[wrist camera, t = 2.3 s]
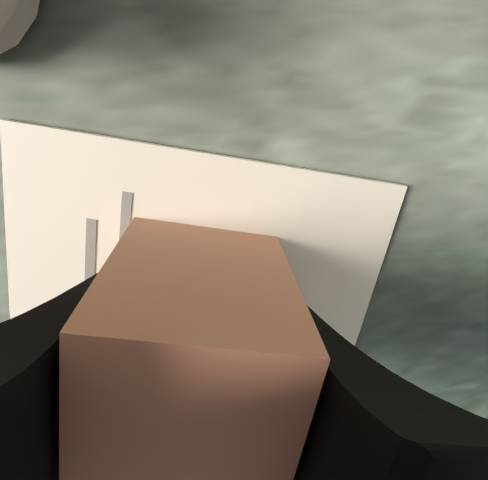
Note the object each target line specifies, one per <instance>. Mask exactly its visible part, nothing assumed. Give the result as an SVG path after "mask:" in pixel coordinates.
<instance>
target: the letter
mask: <svg viewBox="0 0 488 480" xmlns="http://www.w3.org/2000/svg"><path fill="white" fill-rule="evenodd" d="M0 133H1V153H2V172H3V191H4V211H5V230H6V250H7V269H8V288H9V308H10V319H12V318H14V317H16V316H18V315H21V314H23V313H25V312H27V311H29V310H31V309H33V308H35V307H37V306H39V305H41V304H43V303H45V302H47V301H49V300H51V299H53V298H55V297H57V296H58V295H60V294H62V293H64V292H65V291H67V290H69V289H71V288H72V287H74V286H76V285H78V284H79V283H81V282H83V281H84V280H86V279H88V278H90V277H91V276H93V275H95V274H97V273H98V272H99V271H100V269H101V268H102V266H103V265H104V263H105V261H106V260H107V258H108V257H109V255H110V254H111V252H112V251H113V249H114V248H115V246H116V244H117V243H118V241H119V240H120V238H121V237H122V235H123V234H124V232H125V231H126V229H127V227H128V226H129V224H130V223H131V221H132V220H133V218H134V217H138V218H146V219H153V220H160V221H167V222H174V223H182V224H189V225H196V226H203V227H210V228H218V229H225V230H232V231H239V232H246V233H254V234H261V235H268V236H275V237H277V238H278V240H279V242H280V245H281V247H282V249H283V251H284V254H285V256H286V258H287V261H288V263H289V265H290V268H291V270H292V272H293V274H294V277H295V279H296V281H297V284H298V286H299V288H300V291H301V293H302V295H303V297H304V300H305V302H306V304H307V306H308V307H310V308H311V309H312V310H313V311H314V312H315V313H316V314H317V315H318V316H319V317H321V318H322V319H323V320H324V321H325V322H326V323H327V324H328V325H330V326H331V327H332V328H333V329H334V330H335V331H336V332H338V333H339V334H340V335H341V336H342V337H344V338H345V339H346V340H347V341H349V342H350V343H351V344H353V345H354V346H355V344H356V341H357V338H358V335H359V332H360V329H361V326H362V323H363V320H364V317H365V314H366V311H367V308H368V305H369V302H370V299H371V296H372V293H373V290H374V287H375V284H376V281H377V278H378V275H379V272H380V269H381V266H382V263H383V260H384V257H385V254H386V251H387V248H388V245H389V242H390V239H391V235H392V232H393V229H394V226H395V223H396V220H397V217H398V214H399V211H400V208H401V205H402V202H403V199H404V196H405V193H406V190H407V187H408V186H406V185H404V184H398V183H392V182H386V181H380V180H374V179H368V178H362V177H355V176H349V175H343V174H337V173H331V172H325V171H319V170H313V169H307V168H301V167H295V166H289V165H283V164H276V163H270V162H264V161H258V160H252V159H246V158H240V157H234V156H228V155H222V154H216V153H210V152H204V151H198V150H191V149H185V148H179V147H173V146H167V145H161V144H155V143H149V142H143V141H137V140H131V139H125V138H119V137H113V136H106V135H100V134H94V133H88V132H82V131H76V130H70V129H64V128H58V127H52V126H46V125H40V124H34V123H28V122H21V121H15V120H9V119H0Z"/></svg>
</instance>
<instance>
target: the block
mask: <svg viewBox="0 0 488 480" xmlns="http://www.w3.org/2000/svg"><path fill="white" fill-rule="evenodd" d="M329 362H330V357H329V355H328V353H327V350H326V348H325V346H324V343H323V341H322V339H321V336H320V334H319V332H318V330H317V327H316V325H315V323H314V320H313V318H312V316H311V313H310V311H309V309H308V307H307V304H306V302H305V300H304V297H303V295H302V293H301V291H300V288H299V286H298V284H297V281H296V279H295V277H294V274H293V272H292V270H291V268H290V265H289V263H288V261H287V258H286V256H285V254H284V251H283V249H282V247H281V245H280V242H279V240H278V238H277V237H275V236H268V235H261V234H254V233H246V232H239V231H232V230H225V229H218V228H210V227H203V226H196V225H189V224H182V223H174V222H167V221H160V220H153V219H146V218H138V217H134V218H133V220H132V221H131V223H130V224H129V226H128V227H127V229H126V231H125V232H124V234H123V235H122V237H121V238H120V240H119V241H118V243H117V244H116V246H115V248H114V249H113V251H112V252H111V254H110V255H109V257H108V258H107V260H106V261H105V263H104V265H103V266H102V268H101V269H100V271H99V272H98V274H97V275H96V277H95V279H94V280H93V282H92V283H91V285H90V286H89V288H88V289H87V291H86V292H85V294H84V296H83V297H82V299H81V300H80V302H79V303H78V305H77V306H76V308H75V309H74V311H73V313H72V314H71V316H70V317H69V319H68V320H67V322H66V323H65V325H64V326H63V328H62V330H61V331H60V333H59V480H293V479H294V476H295V473H296V469H297V466H298V463H299V460H300V456H301V453H302V450H303V447H304V443H305V440H306V437H307V434H308V431H309V427H310V424H311V421H312V418H313V414H314V411H315V408H316V405H317V401H318V398H319V395H320V392H321V388H322V385H323V382H324V379H325V375H326V372H327V369H328V366H329Z"/></svg>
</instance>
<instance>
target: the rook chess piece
mask: <svg viewBox="0 0 488 480" xmlns="http://www.w3.org/2000/svg"><path fill="white" fill-rule="evenodd" d="M39 1H40V0H0V54H2V53H4V52H5V51H7V50H9V49H11V48H13V47H15V46H16V45H18V44H19V43H20V41H21V40H22V38H23V36H24V35H25V33H26V32H27V30H28V29H29V27H30V26H31V24H32V23H33V21H34V20H35V18H36V17H37V14H38V8H39Z"/></svg>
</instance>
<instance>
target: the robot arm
mask: <svg viewBox="0 0 488 480" xmlns="http://www.w3.org/2000/svg"><path fill="white" fill-rule="evenodd" d="M97 274H98V273H97ZM97 274H95V275H93V276H91V277H90V278H88V279H86V280H84V281H83V282H81V283H79V284H78V285H76V286H74V287H72V288H71V289H69V290H67V291H65V292H64V293H62V294H60V295H58V296H57V297H55V298H53V299H51V300H49V301H47V302H45V303H43V304H41V305H39V306H37V307H35V308H33V309H31V310H29V311H27V312H25V313H23V314H21V315H18V316H16V317H14V318H12V319H9V320H7V321H4V322H2V323H0V480H59V333H60V331H61V330H62V328H63V326H64V325H65V323H66V322H67V320H68V319H69V317H70V316H71V314H72V313H73V311H74V309H75V308H76V306H77V305H78V303H79V302H80V300H81V299H82V297H83V296H84V294H85V292H86V291H87V289H88V288H89V286H90V285H91V283H92V282H93V280H94V279H95V277H96V275H97ZM307 307H308V306H307ZM308 309H309V311H310V313H311V316H312V318H313V320H314V323H315V325H316V327H317V330H318V332H319V334H320V336H321V339H322V341H323V343H324V346H325V348H326V350H327V353H328V355H329V357H330V362H329V366H328V369H327V372H326V375H325V379H324V382H323V385H322V388H321V392H320V395H319V398H318V401H317V405H316V408H315V411H314V414H313V418H312V421H311V424H310V427H309V431H308V434H307V437H306V440H305V443H304V447H303V450H302V453H301V456H300V460H299V463H298V466H297V469H296V473H295V476H294V479H293V480H488V419H485V418H482V417H480V416H477V415H475V414H473V413H470V412H468V411H466V410H464V409H462V408H459V407H457V406H455V405H453V404H451V403H449V402H447V401H444V400H442V399H440V398H438V397H436V396H434V395H432V394H430V393H428V392H426V391H425V390H423V389H421V388H419V387H417V386H415V385H414V384H412V383H410V382H408V381H407V380H405V379H403V378H401V377H400V376H398V375H396V374H395V373H393V372H391V371H390V370H388V369H387V368H385V367H384V366H382V365H381V364H379V363H378V362H376V361H375V360H373V359H372V358H370V357H369V356H367V355H366V354H364V353H363V352H362V351H360V350H359V349H358V348H356V347H355V346H354V345H353V344H351V343H350V342H349V341H347V340H346V339H345V338H344V337H342V336H341V335H340V334H339V333H338V332H336V331H335V330H334V329H333V328H332V327H331V326H330V325H328V324H327V323H326V322H325V321H324V320H323V319H322V318H321V317H319V316H318V315H317V314H316V313H315V312H314V311H313V310H312V309H311V308H310V307H308Z"/></svg>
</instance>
